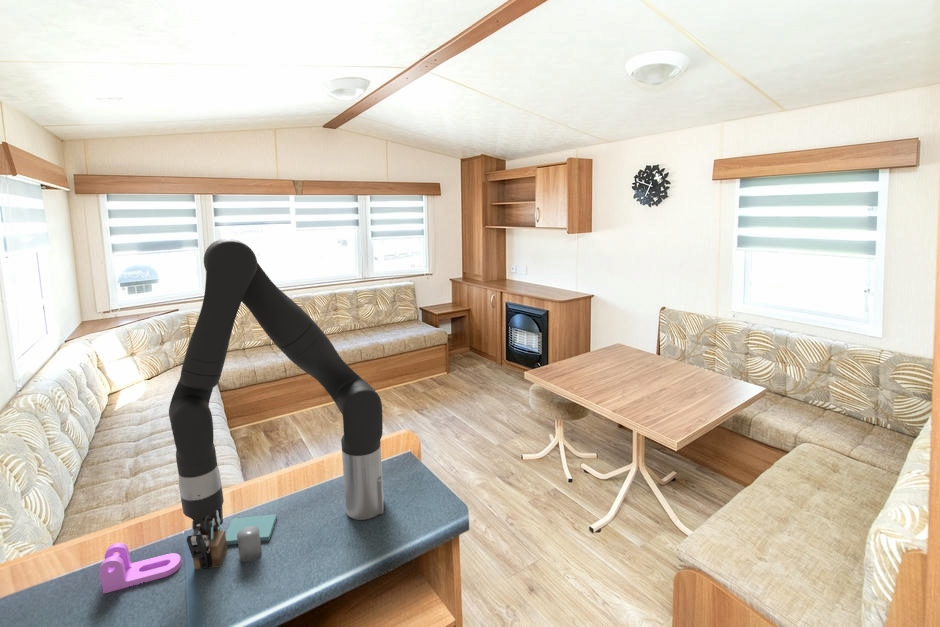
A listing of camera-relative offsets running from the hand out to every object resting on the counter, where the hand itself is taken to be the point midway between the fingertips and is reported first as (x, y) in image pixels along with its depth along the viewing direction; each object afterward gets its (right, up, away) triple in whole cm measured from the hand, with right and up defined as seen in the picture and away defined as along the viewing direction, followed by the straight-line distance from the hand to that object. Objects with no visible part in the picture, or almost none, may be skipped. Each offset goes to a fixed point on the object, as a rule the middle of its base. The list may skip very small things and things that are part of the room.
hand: (211, 557), depth 104 cm
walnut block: (0, 0, 0) cm, 0 cm away
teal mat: (+5, +2, +9) cm, 10 cm away
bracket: (-12, -2, -4) cm, 12 cm away
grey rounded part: (+8, 0, +1) cm, 8 cm away
